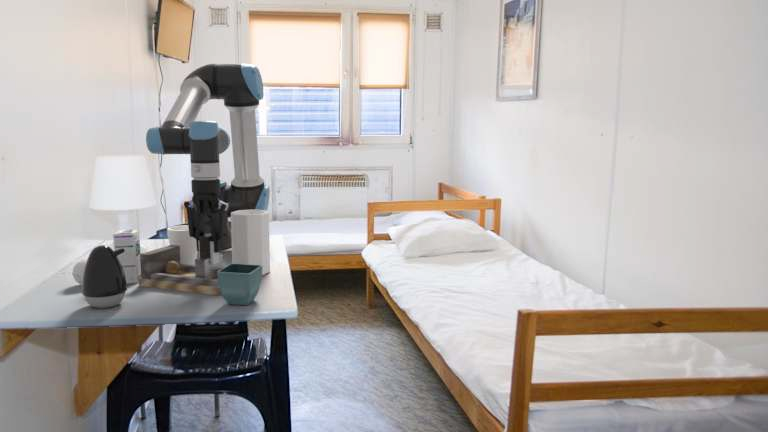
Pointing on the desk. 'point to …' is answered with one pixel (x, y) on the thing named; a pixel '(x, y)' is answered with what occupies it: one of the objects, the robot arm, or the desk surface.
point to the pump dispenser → (104, 278)
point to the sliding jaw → (207, 259)
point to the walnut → (172, 267)
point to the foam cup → (183, 243)
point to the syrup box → (129, 253)
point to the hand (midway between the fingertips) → (209, 262)
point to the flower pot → (240, 283)
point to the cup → (251, 238)
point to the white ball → (79, 271)
